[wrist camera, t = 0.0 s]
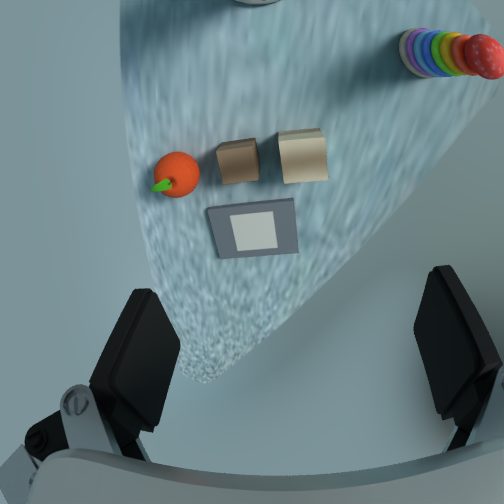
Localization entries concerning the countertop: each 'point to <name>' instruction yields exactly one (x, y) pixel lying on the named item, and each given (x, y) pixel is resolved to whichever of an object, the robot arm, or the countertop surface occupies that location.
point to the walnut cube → (238, 161)
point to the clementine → (176, 175)
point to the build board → (254, 228)
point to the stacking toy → (451, 54)
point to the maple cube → (303, 155)
